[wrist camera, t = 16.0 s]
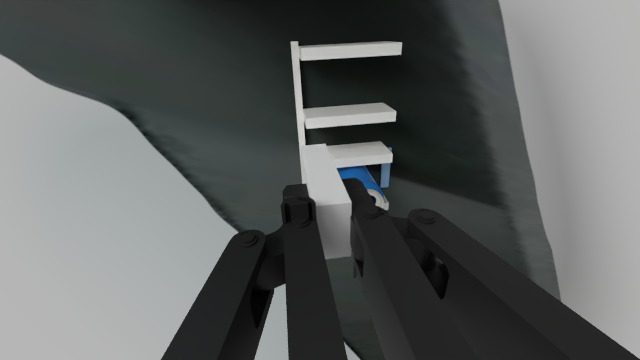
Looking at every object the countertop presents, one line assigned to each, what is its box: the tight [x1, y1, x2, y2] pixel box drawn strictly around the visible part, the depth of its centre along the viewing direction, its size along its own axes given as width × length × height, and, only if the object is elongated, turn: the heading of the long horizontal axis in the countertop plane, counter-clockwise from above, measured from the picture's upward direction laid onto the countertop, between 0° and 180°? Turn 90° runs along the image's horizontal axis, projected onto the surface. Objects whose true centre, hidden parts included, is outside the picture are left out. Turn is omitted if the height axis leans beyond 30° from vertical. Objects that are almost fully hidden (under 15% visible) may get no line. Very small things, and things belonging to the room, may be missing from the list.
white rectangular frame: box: [291, 41, 402, 210], centre depth 46 cm, size 28×14×6 cm, turn 3°
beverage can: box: [336, 165, 384, 208], centre depth 47 cm, size 6×6×12 cm
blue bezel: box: [380, 147, 392, 188], centre depth 53 cm, size 8×2×1 cm, turn 3°
